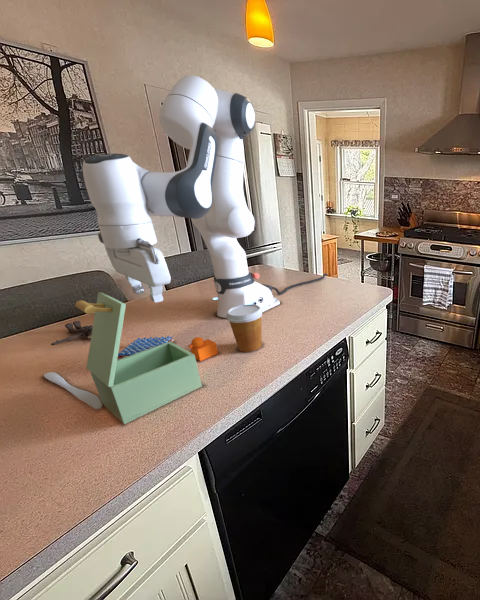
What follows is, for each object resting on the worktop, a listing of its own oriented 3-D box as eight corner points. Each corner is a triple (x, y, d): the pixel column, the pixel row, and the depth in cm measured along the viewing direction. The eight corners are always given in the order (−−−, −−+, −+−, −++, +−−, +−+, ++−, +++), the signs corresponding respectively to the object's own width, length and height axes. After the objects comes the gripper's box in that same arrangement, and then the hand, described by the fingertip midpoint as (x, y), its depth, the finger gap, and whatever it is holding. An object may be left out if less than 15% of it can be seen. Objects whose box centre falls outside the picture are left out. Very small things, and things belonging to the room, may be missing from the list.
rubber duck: (210, 349, 95) (206, 330, 93) (218, 353, 93) (214, 334, 91) (188, 358, 90) (184, 339, 88) (196, 362, 88) (191, 343, 86)
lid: (103, 292, 68) (70, 290, 64) (126, 304, 62) (92, 303, 58) (91, 367, 69) (58, 371, 65) (113, 386, 63) (79, 391, 59)
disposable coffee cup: (233, 342, 99) (226, 306, 95) (266, 337, 103) (261, 301, 98) (231, 357, 91) (224, 318, 87) (268, 351, 94) (262, 313, 90)
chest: (178, 371, 84) (170, 341, 81) (202, 386, 78) (194, 354, 75) (102, 403, 72) (89, 369, 69) (124, 424, 66) (111, 388, 63)
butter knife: (57, 368, 83) (41, 374, 81) (109, 403, 71) (92, 411, 69) (58, 370, 83) (41, 376, 81) (110, 406, 72) (93, 413, 69)
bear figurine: (104, 311, 112) (128, 315, 106) (108, 323, 113) (132, 327, 107) (32, 332, 96) (55, 338, 90) (38, 345, 98) (61, 352, 92)
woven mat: (115, 362, 88) (112, 355, 87) (137, 343, 98) (136, 337, 97) (157, 359, 89) (155, 352, 89) (175, 341, 99) (174, 335, 98)
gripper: (169, 239, 66) (185, 302, 72) (128, 229, 77) (144, 285, 82) (133, 245, 61) (153, 311, 67) (94, 233, 72) (114, 292, 77)
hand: (148, 297), depth 74 cm, fingers open, 8 cm apart
